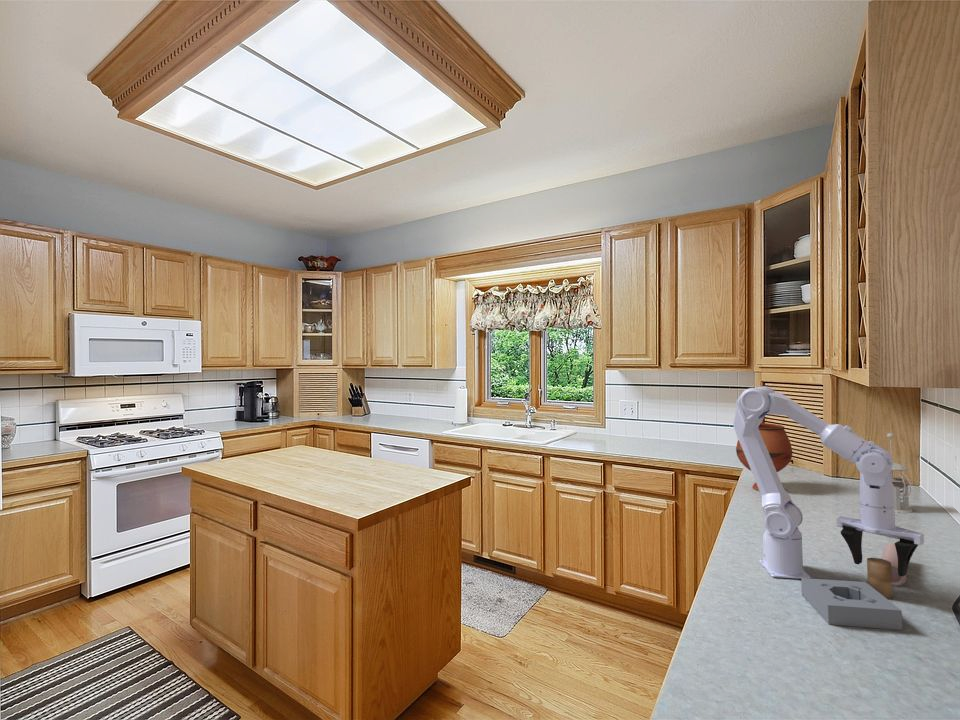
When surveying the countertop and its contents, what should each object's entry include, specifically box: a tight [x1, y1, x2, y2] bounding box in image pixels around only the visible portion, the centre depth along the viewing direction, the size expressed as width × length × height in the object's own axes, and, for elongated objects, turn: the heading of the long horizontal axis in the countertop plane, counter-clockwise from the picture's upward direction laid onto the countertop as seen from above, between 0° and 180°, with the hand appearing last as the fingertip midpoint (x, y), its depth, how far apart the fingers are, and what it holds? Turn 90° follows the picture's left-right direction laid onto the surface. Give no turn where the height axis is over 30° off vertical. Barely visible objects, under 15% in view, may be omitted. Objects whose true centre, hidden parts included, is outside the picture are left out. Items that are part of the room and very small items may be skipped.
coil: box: [881, 542, 907, 587], centre depth 114 cm, size 5×5×18 cm
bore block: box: [800, 578, 903, 631], centre depth 97 cm, size 12×12×4 cm
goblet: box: [735, 422, 793, 491], centre depth 190 cm, size 19×19×25 cm
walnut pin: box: [866, 557, 893, 600], centre depth 104 cm, size 4×4×7 cm
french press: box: [886, 432, 913, 514], centre depth 161 cm, size 10×12×25 cm
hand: (879, 568), depth 104 cm, fingers open, 7 cm apart
